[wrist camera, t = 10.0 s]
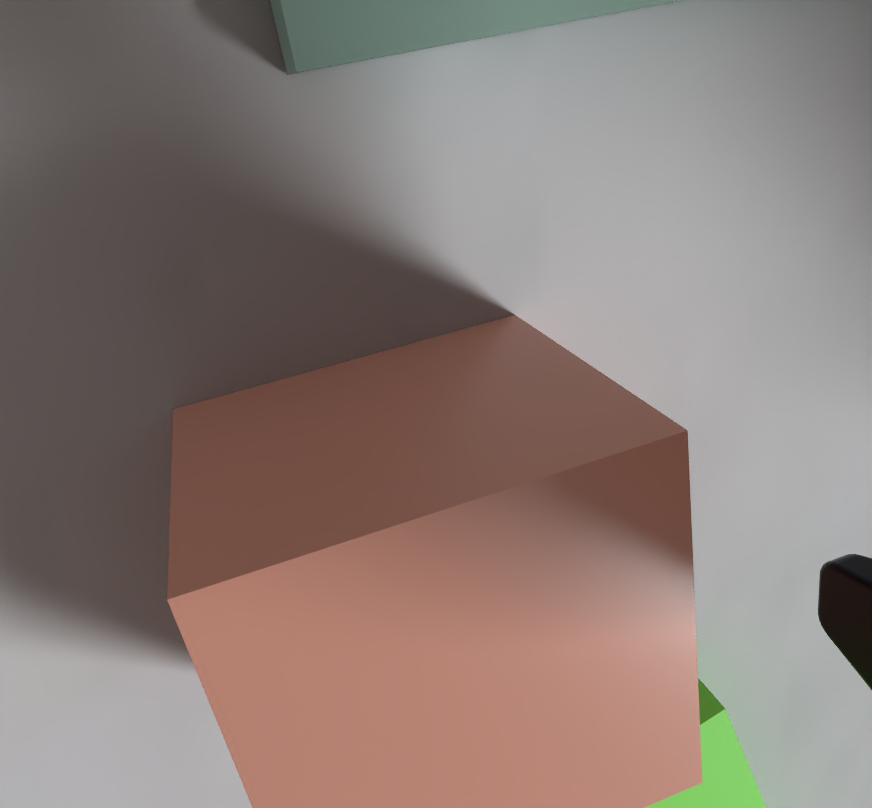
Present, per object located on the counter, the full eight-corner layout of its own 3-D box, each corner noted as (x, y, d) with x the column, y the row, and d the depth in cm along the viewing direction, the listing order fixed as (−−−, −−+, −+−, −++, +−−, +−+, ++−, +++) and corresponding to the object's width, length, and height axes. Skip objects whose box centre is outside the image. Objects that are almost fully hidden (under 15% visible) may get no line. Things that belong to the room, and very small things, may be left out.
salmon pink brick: (512, 313, 13) (688, 430, 8) (550, 580, 15) (703, 783, 11) (173, 406, 12) (167, 599, 7) (270, 679, 14) (311, 951, 10)
